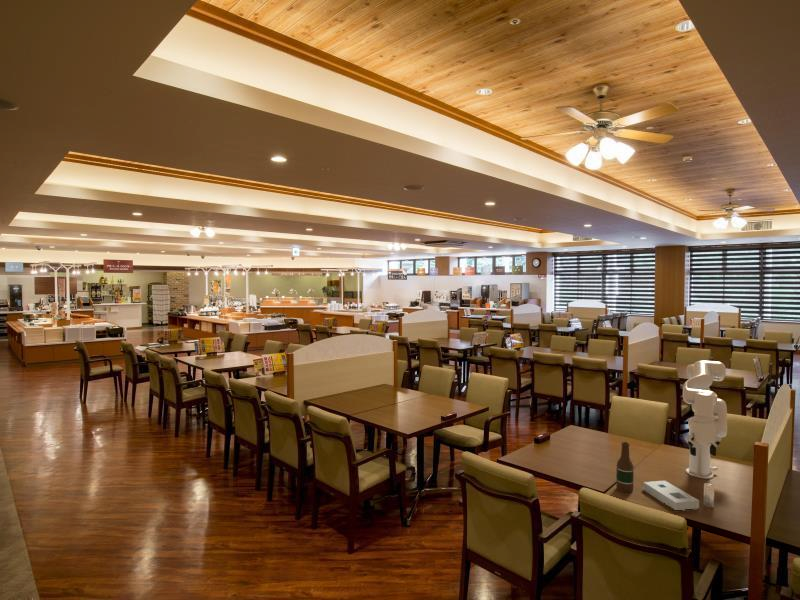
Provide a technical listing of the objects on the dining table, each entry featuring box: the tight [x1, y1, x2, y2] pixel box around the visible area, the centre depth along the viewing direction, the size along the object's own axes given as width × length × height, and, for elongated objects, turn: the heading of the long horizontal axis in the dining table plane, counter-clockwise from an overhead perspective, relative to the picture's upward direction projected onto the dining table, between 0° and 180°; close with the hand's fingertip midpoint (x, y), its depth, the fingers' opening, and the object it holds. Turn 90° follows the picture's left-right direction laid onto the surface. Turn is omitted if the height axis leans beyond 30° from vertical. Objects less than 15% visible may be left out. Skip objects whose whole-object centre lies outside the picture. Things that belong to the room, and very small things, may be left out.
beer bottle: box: [615, 441, 635, 494], centre depth 235 cm, size 8×8×24 cm
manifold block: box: [642, 480, 700, 511], centre depth 224 cm, size 12×22×4 cm, turn 9°
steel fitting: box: [703, 482, 715, 508], centre depth 218 cm, size 4×4×10 cm
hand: (702, 455), depth 220 cm, fingers open, 9 cm apart
